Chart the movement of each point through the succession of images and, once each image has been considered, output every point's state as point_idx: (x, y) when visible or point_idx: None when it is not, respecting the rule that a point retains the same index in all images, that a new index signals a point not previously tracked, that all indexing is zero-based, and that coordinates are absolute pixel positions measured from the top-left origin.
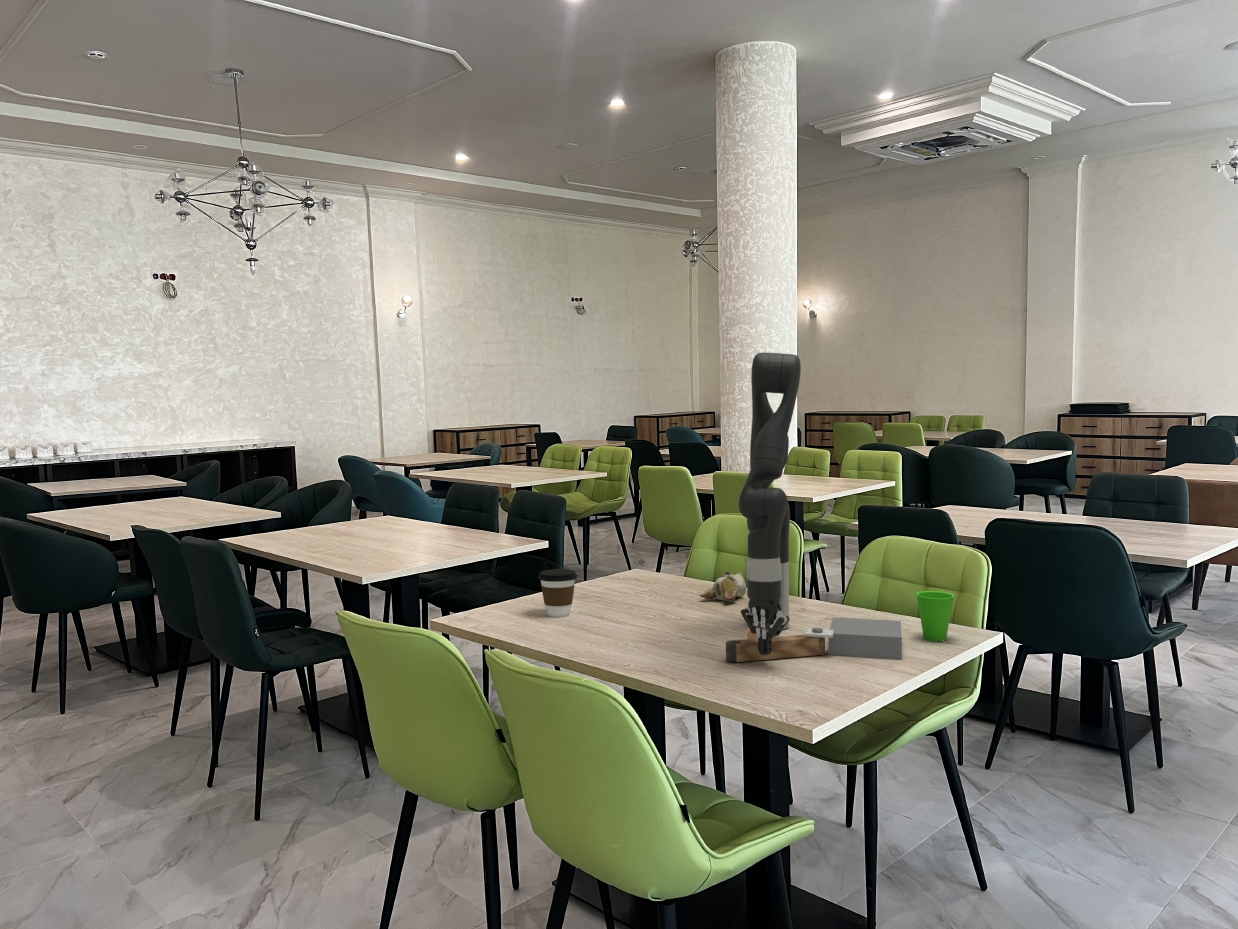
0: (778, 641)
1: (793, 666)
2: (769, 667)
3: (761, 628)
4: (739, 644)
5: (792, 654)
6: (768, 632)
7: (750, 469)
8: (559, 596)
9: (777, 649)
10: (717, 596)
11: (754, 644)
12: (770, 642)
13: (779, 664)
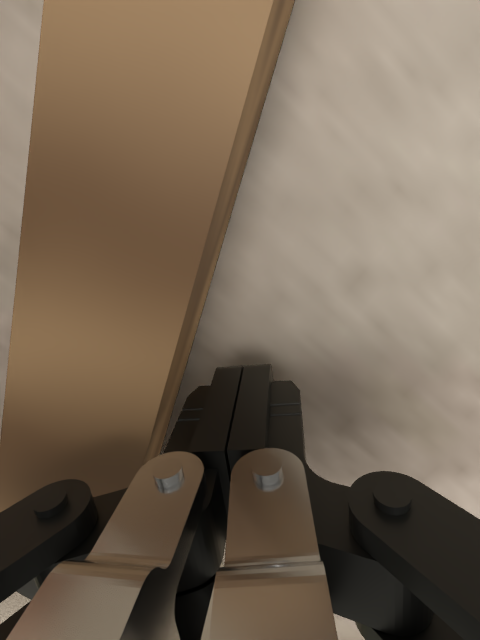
0: (206, 246)
1: (428, 243)
2: (330, 388)
3: (76, 518)
4: None
5: (268, 83)
6: (333, 611)
7: None
8: None
9: (215, 240)
10: None
11: (146, 462)
12: (304, 456)
13: (322, 292)
